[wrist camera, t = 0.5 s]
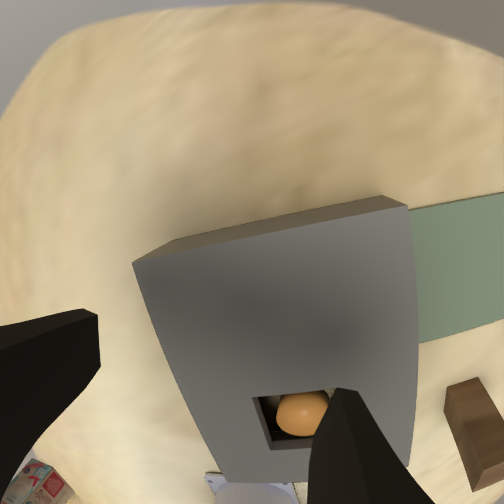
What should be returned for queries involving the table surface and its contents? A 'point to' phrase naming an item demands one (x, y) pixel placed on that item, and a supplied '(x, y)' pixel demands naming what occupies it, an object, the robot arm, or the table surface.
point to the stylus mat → (458, 265)
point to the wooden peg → (476, 432)
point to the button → (302, 412)
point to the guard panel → (289, 326)
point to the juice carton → (37, 486)
